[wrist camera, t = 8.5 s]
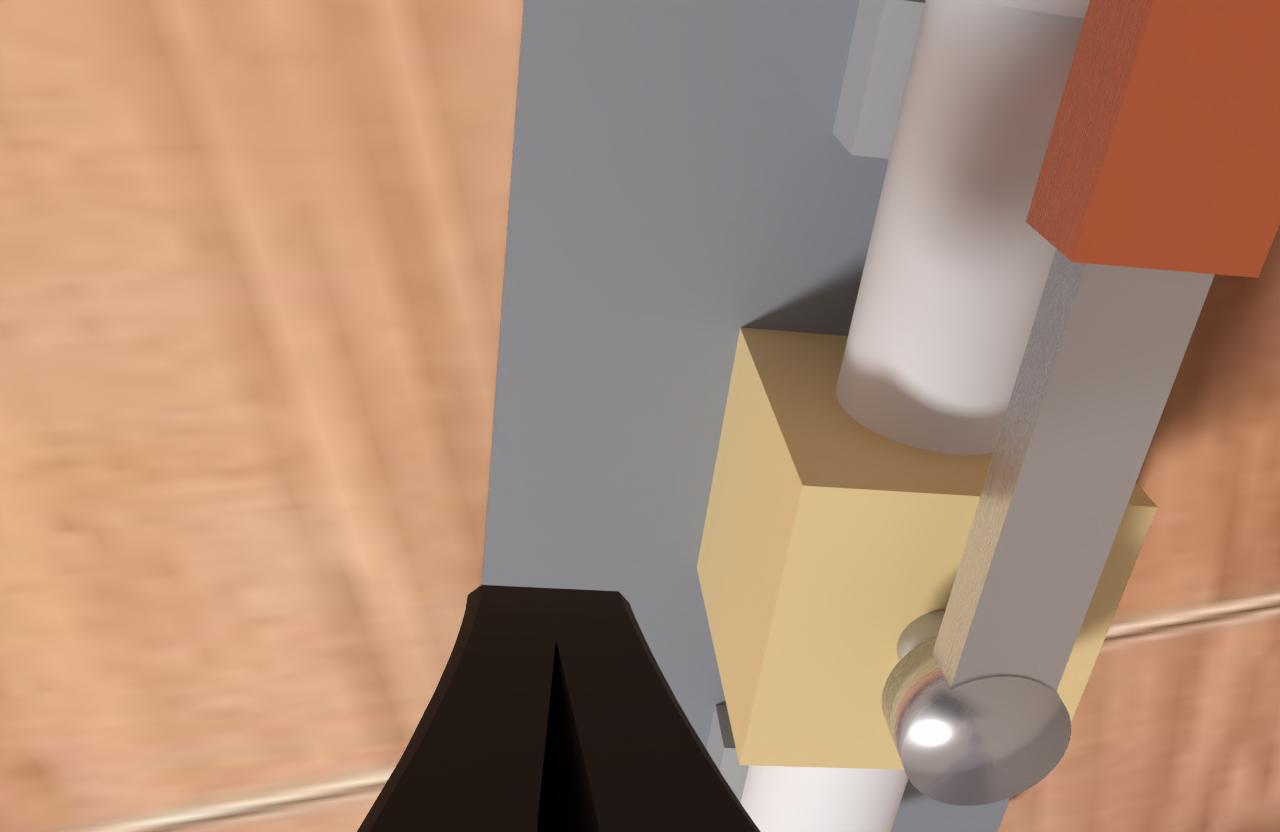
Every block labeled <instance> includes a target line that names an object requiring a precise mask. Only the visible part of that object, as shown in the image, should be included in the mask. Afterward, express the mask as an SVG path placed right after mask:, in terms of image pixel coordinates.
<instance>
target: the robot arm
mask: <svg viewBox="0 0 1280 832" xmlns="http://www.w3.org/2000/svg"><path fill="white" fill-rule="evenodd" d="M357 832H760V830H759V829H758V827H757V826H756V825H755V823H754V822H753V820H752V819H751V817H750V816H749V815H748V813H747V812H746V810H745V809H744V807H743V806H742V804H741V803H740V801H739V800H738V798H737V797H736V795H735V794H734V792H733V791H732V789H731V788H730V786H729V785H728V783H727V782H726V780H725V779H724V777H723V776H722V774H721V772H720V771H719V769H718V767H717V766H716V764H715V762H714V761H713V759H712V758H711V756H710V754H709V753H708V751H707V749H706V748H705V746H704V745H703V743H702V741H701V740H700V738H699V736H698V735H697V733H696V732H695V730H694V728H693V727H692V725H691V723H690V722H689V720H688V718H687V717H686V715H685V713H684V711H683V710H682V708H681V706H680V704H679V703H678V701H677V699H676V697H675V695H674V694H673V692H672V690H671V688H670V686H669V684H668V682H667V681H666V679H665V677H664V675H663V673H662V671H661V669H660V668H659V666H658V664H657V662H656V660H655V658H654V656H653V654H652V652H651V650H650V648H649V646H648V644H647V642H646V640H645V637H644V635H643V633H642V631H641V629H640V627H639V624H638V622H637V620H636V618H635V616H634V613H633V611H632V608H631V606H630V603H629V602H628V601H627V600H626V599H625V598H624V596H623V595H622V594H621V593H620V592H619V591H602V590H580V589H559V588H538V587H517V586H495V585H481V586H480V587H478V588H477V589H475V590H474V591H473V592H471V593H470V594H469V595H468V598H467V604H466V610H465V614H464V618H463V621H462V625H461V628H460V631H459V634H458V637H457V640H456V643H455V645H454V648H453V651H452V653H451V656H450V658H449V661H448V663H447V665H446V667H445V670H444V672H443V674H442V677H441V679H440V681H439V684H438V686H437V688H436V690H435V693H434V694H433V696H432V698H431V700H430V702H429V704H428V706H427V708H426V710H425V712H424V714H423V716H422V718H421V720H420V722H419V724H418V726H417V728H416V730H415V732H414V734H413V736H412V738H411V740H410V742H409V744H408V746H407V748H406V750H405V752H404V753H403V755H402V757H401V759H400V761H399V762H398V764H397V766H396V768H395V769H394V771H393V773H392V774H391V776H390V778H389V779H388V781H387V783H386V784H385V786H384V788H383V789H382V791H381V793H380V794H379V796H378V798H377V799H376V801H375V803H374V804H373V806H372V808H371V809H370V811H369V813H368V814H367V816H366V818H365V819H364V821H363V823H362V824H361V826H360V828H359V829H358V831H357Z"/></svg>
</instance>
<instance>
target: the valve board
mask: <svg viewBox="0 0 1280 832" xmlns="http://www.w3.org/2000/svg"><path fill="white" fill-rule="evenodd" d="M1089 1H1090V0H524V6H523V20H522V34H521V47H520V61H519V75H518V89H517V103H516V117H515V130H514V144H513V158H512V172H511V186H510V200H509V213H508V227H507V241H506V255H505V269H504V283H503V296H502V310H501V324H500V338H499V352H498V366H497V379H496V393H495V407H494V421H493V435H492V449H491V462H490V476H489V490H488V504H487V518H486V532H485V545H484V559H483V573H482V585H495V586H517V587H538V588H559V589H580V590H602V591H619V592H620V593H621V594H622V595H623V596H624V598H625V599H626V600H627V601H628V602H629V603H630V606H631V608H632V611H633V613H634V616H635V618H636V620H637V622H638V624H639V627H640V629H641V631H642V633H643V635H644V637H645V640H646V642H647V644H648V646H649V648H650V650H651V652H652V654H653V656H654V658H655V660H656V662H657V664H658V666H659V668H660V669H661V671H662V673H663V675H664V677H665V679H666V681H667V682H668V684H669V686H670V688H671V690H672V692H673V694H674V695H675V697H676V699H677V701H678V703H679V704H680V706H681V708H682V710H683V711H684V713H685V715H686V717H687V718H688V720H689V722H690V723H691V725H692V727H693V728H694V730H695V732H696V733H697V735H698V736H699V738H700V740H701V741H702V743H703V745H704V746H705V748H706V749H707V751H708V753H709V754H710V756H711V758H712V759H713V761H714V762H715V764H716V766H717V767H718V769H719V771H720V772H721V774H722V776H723V777H724V779H725V780H726V782H727V783H728V785H729V786H730V788H731V789H732V791H733V792H734V794H735V795H736V797H737V798H738V800H739V801H740V803H741V804H742V806H743V807H744V809H745V810H746V812H747V813H748V815H749V816H750V817H751V819H752V820H753V822H754V823H755V825H756V826H757V827H758V829H759V830H760V832H997V831H998V829H999V826H1000V823H1001V821H1002V818H1003V816H1004V813H1005V810H1006V808H1007V805H1008V803H1009V800H1010V798H1008V799H1005V800H1002V801H998V802H994V803H990V804H984V805H976V806H960V805H951V804H946V803H942V802H939V801H936V800H934V799H931V798H929V797H927V796H926V795H924V794H923V793H921V792H920V791H919V790H918V789H916V788H915V787H914V785H913V784H912V783H911V782H910V780H909V779H908V777H907V775H906V773H905V770H904V768H903V765H902V762H901V760H900V757H899V754H898V752H897V749H896V747H895V744H894V741H893V739H892V736H891V734H890V731H889V728H888V726H887V723H886V721H885V718H884V715H883V712H882V705H881V704H882V693H883V688H884V686H885V683H886V680H887V678H888V677H889V675H890V673H891V671H892V670H893V669H894V667H895V666H896V664H897V663H898V662H899V661H900V660H901V659H902V658H903V657H904V656H905V655H906V654H907V653H909V652H910V651H911V650H912V649H914V648H915V647H917V646H918V645H919V644H921V643H923V642H925V641H927V640H928V639H930V638H933V637H935V636H937V635H938V633H939V630H940V627H941V623H942V620H943V617H944V614H945V610H946V607H947V604H948V601H949V597H950V594H951V591H952V587H953V584H954V581H955V578H956V574H957V571H958V568H959V565H960V561H961V558H962V555H963V552H964V548H965V545H966V542H967V538H968V535H969V532H970V529H971V525H972V522H973V519H974V516H975V512H976V509H977V506H978V503H979V499H980V496H981V493H982V489H983V486H984V483H985V480H986V476H987V473H988V470H989V467H990V463H991V460H992V457H993V454H994V450H995V447H996V444H997V440H998V437H999V434H1000V431H1001V427H1002V424H1003V421H1004V418H1005V414H1006V411H1007V408H1008V405H1009V401H1010V398H1011V395H1012V391H1013V388H1014V385H1015V382H1016V378H1017V375H1018V372H1019V369H1020V365H1021V362H1022V359H1023V356H1024V352H1025V349H1026V346H1027V342H1028V339H1029V336H1030V333H1031V329H1032V326H1033V323H1034V320H1035V316H1036V313H1037V310H1038V307H1039V303H1040V300H1041V297H1042V293H1043V290H1044V287H1045V284H1046V280H1047V277H1048V274H1049V271H1050V267H1051V264H1052V261H1053V258H1054V254H1055V251H1056V248H1055V247H1054V246H1053V245H1052V244H1051V243H1049V242H1048V241H1047V240H1046V239H1045V238H1044V237H1043V236H1041V235H1040V234H1039V233H1038V232H1037V231H1036V230H1034V229H1033V228H1032V227H1031V226H1030V225H1029V224H1028V223H1026V219H1027V215H1028V212H1029V208H1030V205H1031V201H1032V198H1033V195H1034V191H1035V188H1036V184H1037V181H1038V177H1039V174H1040V170H1041V167H1042V163H1043V160H1044V157H1045V153H1046V150H1047V146H1048V143H1049V139H1050V136H1051V132H1052V129H1053V125H1054V122H1055V118H1056V115H1057V112H1058V108H1059V105H1060V101H1061V98H1062V94H1063V91H1064V87H1065V84H1066V80H1067V77H1068V74H1069V70H1070V67H1071V63H1072V60H1073V56H1074V53H1075V49H1076V46H1077V42H1078V39H1079V36H1080V32H1081V29H1082V25H1083V22H1084V18H1085V15H1086V11H1087V8H1088V4H1089ZM1157 508H1158V507H1157V506H1156V505H1155V504H1154V502H1153V501H1152V500H1151V499H1150V498H1149V497H1148V496H1147V494H1146V493H1145V492H1144V491H1143V490H1142V489H1141V488H1140V487H1139V485H1138V484H1137V483H1135V486H1134V489H1133V491H1132V494H1131V497H1130V499H1129V502H1128V505H1127V507H1126V510H1125V512H1124V515H1123V518H1122V520H1121V523H1120V526H1119V528H1118V531H1117V533H1116V536H1115V539H1114V541H1113V544H1112V547H1111V549H1110V552H1109V555H1108V557H1107V560H1106V562H1105V565H1104V568H1103V570H1102V573H1101V576H1100V578H1099V581H1098V584H1097V586H1096V589H1095V591H1094V594H1093V597H1092V599H1091V602H1090V605H1089V607H1088V610H1087V612H1086V615H1085V618H1084V620H1083V623H1082V626H1081V628H1080V631H1079V634H1078V636H1077V639H1076V641H1075V644H1074V647H1073V649H1072V652H1071V655H1070V657H1069V660H1068V662H1067V665H1066V668H1065V670H1064V673H1063V676H1062V678H1061V681H1060V684H1059V686H1058V689H1057V693H1058V694H1059V696H1060V698H1061V700H1062V701H1063V703H1064V705H1065V706H1066V708H1067V711H1068V713H1069V716H1070V720H1071V721H1072V719H1073V716H1074V714H1075V711H1076V709H1077V706H1078V704H1079V701H1080V699H1081V696H1082V694H1083V691H1084V689H1085V687H1086V684H1087V682H1088V679H1089V677H1090V674H1091V672H1092V669H1093V667H1094V664H1095V662H1096V659H1097V657H1098V654H1099V652H1100V649H1101V647H1102V644H1103V642H1104V639H1105V637H1106V634H1107V632H1108V629H1109V627H1110V624H1111V622H1112V619H1113V617H1114V615H1115V612H1116V610H1117V607H1118V605H1119V602H1120V600H1121V597H1122V595H1123V592H1124V590H1125V587H1126V585H1127V582H1128V580H1129V577H1130V575H1131V572H1132V570H1133V567H1134V565H1135V562H1136V560H1137V557H1138V555H1139V552H1140V550H1141V547H1142V545H1143V543H1144V540H1145V538H1146V535H1147V533H1148V530H1149V528H1150V525H1151V523H1152V520H1153V518H1154V515H1155V513H1156V510H1157ZM1050 773H1051V772H1050ZM1050 773H1049V774H1050Z"/></svg>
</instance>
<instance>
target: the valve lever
mask: <svg viewBox="0 0 1280 832" xmlns="http://www.w3.org/2000/svg"><path fill="white" fill-rule="evenodd" d="M1026 223H1028V224H1029V225H1030V226H1031V227H1032V228H1033V229H1034V230H1036V231H1037V232H1038V233H1039V234H1040V235H1041V236H1043V237H1044V238H1045V239H1046V240H1047V241H1048V242H1049V243H1051V244H1052V245H1053V246H1054V247H1055V248H1056V251H1055V254H1054V258H1053V261H1052V264H1051V267H1050V271H1049V274H1048V277H1047V280H1046V284H1045V287H1044V290H1043V293H1042V297H1041V300H1040V303H1039V307H1038V310H1037V313H1036V316H1035V320H1034V323H1033V326H1032V329H1031V333H1030V336H1029V339H1028V342H1027V346H1026V349H1025V352H1024V356H1023V359H1022V362H1021V365H1020V369H1019V372H1018V375H1017V378H1016V382H1015V385H1014V388H1013V391H1012V395H1011V398H1010V401H1009V405H1008V408H1007V411H1006V414H1005V418H1004V421H1003V424H1002V427H1001V431H1000V434H999V437H998V440H997V444H996V447H995V450H994V454H993V457H992V460H991V463H990V467H989V470H988V473H987V476H986V480H985V483H984V486H983V489H982V493H981V496H980V499H979V503H978V506H977V509H976V512H975V516H974V519H973V522H972V525H971V529H970V532H969V535H968V538H967V542H966V545H965V548H964V552H963V555H962V558H961V561H960V565H959V568H958V571H957V574H956V578H955V581H954V584H953V587H952V591H951V594H950V597H949V601H948V604H947V607H946V610H945V614H944V617H943V620H942V623H941V627H940V630H939V633H938V635H937V636H935V637H933V638H930V639H928V640H927V641H925V642H923V643H921V644H919V645H918V646H917V647H915V648H914V649H912V650H911V651H910V652H909V653H907V654H906V655H905V656H904V657H903V658H902V659H901V660H900V661H899V662H898V663H897V664H896V666H895V667H894V669H893V670H892V671H891V673H890V675H889V677H888V678H887V680H886V683H885V686H884V688H883V693H882V704H881V705H882V712H883V715H884V718H885V721H886V723H887V726H888V728H889V731H890V734H891V736H892V739H893V741H894V744H895V747H896V749H897V752H898V754H899V757H900V760H901V762H902V765H903V768H904V770H905V773H906V775H907V777H908V779H909V780H910V782H911V783H912V784H913V785H914V787H915V788H916V789H918V790H919V791H920V792H921V793H923V794H924V795H926V796H927V797H929V798H931V799H934V800H936V801H939V802H942V803H946V804H951V805H960V806H976V805H984V804H990V803H994V802H998V801H1002V800H1005V799H1008V798H1010V797H1013V796H1015V795H1018V794H1020V793H1022V792H1023V791H1025V790H1027V789H1029V788H1031V787H1032V786H1034V785H1035V784H1037V783H1038V782H1039V781H1041V780H1042V779H1043V778H1044V777H1046V776H1047V775H1048V774H1049V773H1050V772H1051V771H1052V770H1053V769H1054V767H1055V766H1056V765H1057V764H1058V763H1059V761H1060V759H1061V758H1062V756H1063V755H1064V753H1065V751H1066V749H1067V747H1068V743H1069V740H1070V735H1071V720H1070V716H1069V713H1068V711H1067V708H1066V706H1065V705H1064V703H1063V701H1062V700H1061V698H1060V696H1059V694H1058V693H1057V689H1058V686H1059V684H1060V681H1061V678H1062V676H1063V673H1064V670H1065V668H1066V665H1067V662H1068V660H1069V657H1070V655H1071V652H1072V649H1073V647H1074V644H1075V641H1076V639H1077V636H1078V634H1079V631H1080V628H1081V626H1082V623H1083V620H1084V618H1085V615H1086V612H1087V610H1088V607H1089V605H1090V602H1091V599H1092V597H1093V594H1094V591H1095V589H1096V586H1097V584H1098V581H1099V578H1100V576H1101V573H1102V570H1103V568H1104V565H1105V562H1106V560H1107V557H1108V555H1109V552H1110V549H1111V547H1112V544H1113V541H1114V539H1115V536H1116V533H1117V531H1118V528H1119V526H1120V523H1121V520H1122V518H1123V515H1124V512H1125V510H1126V507H1127V505H1128V502H1129V499H1130V497H1131V494H1132V491H1133V489H1134V486H1135V483H1136V481H1137V478H1138V476H1139V473H1140V470H1141V468H1142V465H1143V462H1144V460H1145V457H1146V455H1147V452H1148V449H1149V447H1150V444H1151V441H1152V439H1153V436H1154V433H1155V431H1156V428H1157V426H1158V423H1159V420H1160V418H1161V415H1162V412H1163V410H1164V407H1165V404H1166V402H1167V399H1168V397H1169V394H1170V391H1171V389H1172V386H1173V383H1174V381H1175V378H1176V376H1177V373H1178V370H1179V368H1180V365H1181V362H1182V360H1183V357H1184V354H1185V352H1186V349H1187V347H1188V344H1189V341H1190V339H1191V336H1192V333H1193V331H1194V328H1195V326H1196V323H1197V320H1198V318H1199V315H1200V312H1201V310H1202V307H1203V304H1204V302H1205V299H1206V297H1207V294H1208V291H1209V289H1210V286H1211V283H1212V281H1213V278H1214V276H1215V274H1218V275H1230V276H1242V277H1254V278H1259V275H1260V273H1261V270H1262V268H1263V265H1264V263H1265V260H1266V258H1267V255H1268V253H1269V250H1270V248H1271V245H1272V243H1273V240H1274V238H1275V235H1276V233H1277V230H1278V228H1279V225H1280V0H1090V1H1089V4H1088V8H1087V11H1086V15H1085V18H1084V22H1083V25H1082V29H1081V32H1080V36H1079V39H1078V42H1077V46H1076V49H1075V53H1074V56H1073V60H1072V63H1071V67H1070V70H1069V74H1068V77H1067V80H1066V84H1065V87H1064V91H1063V94H1062V98H1061V101H1060V105H1059V108H1058V112H1057V115H1056V118H1055V122H1054V125H1053V129H1052V132H1051V136H1050V139H1049V143H1048V146H1047V150H1046V153H1045V157H1044V160H1043V163H1042V167H1041V170H1040V174H1039V177H1038V181H1037V184H1036V188H1035V191H1034V195H1033V198H1032V201H1031V205H1030V208H1029V212H1028V215H1027V219H1026Z"/></svg>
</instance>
